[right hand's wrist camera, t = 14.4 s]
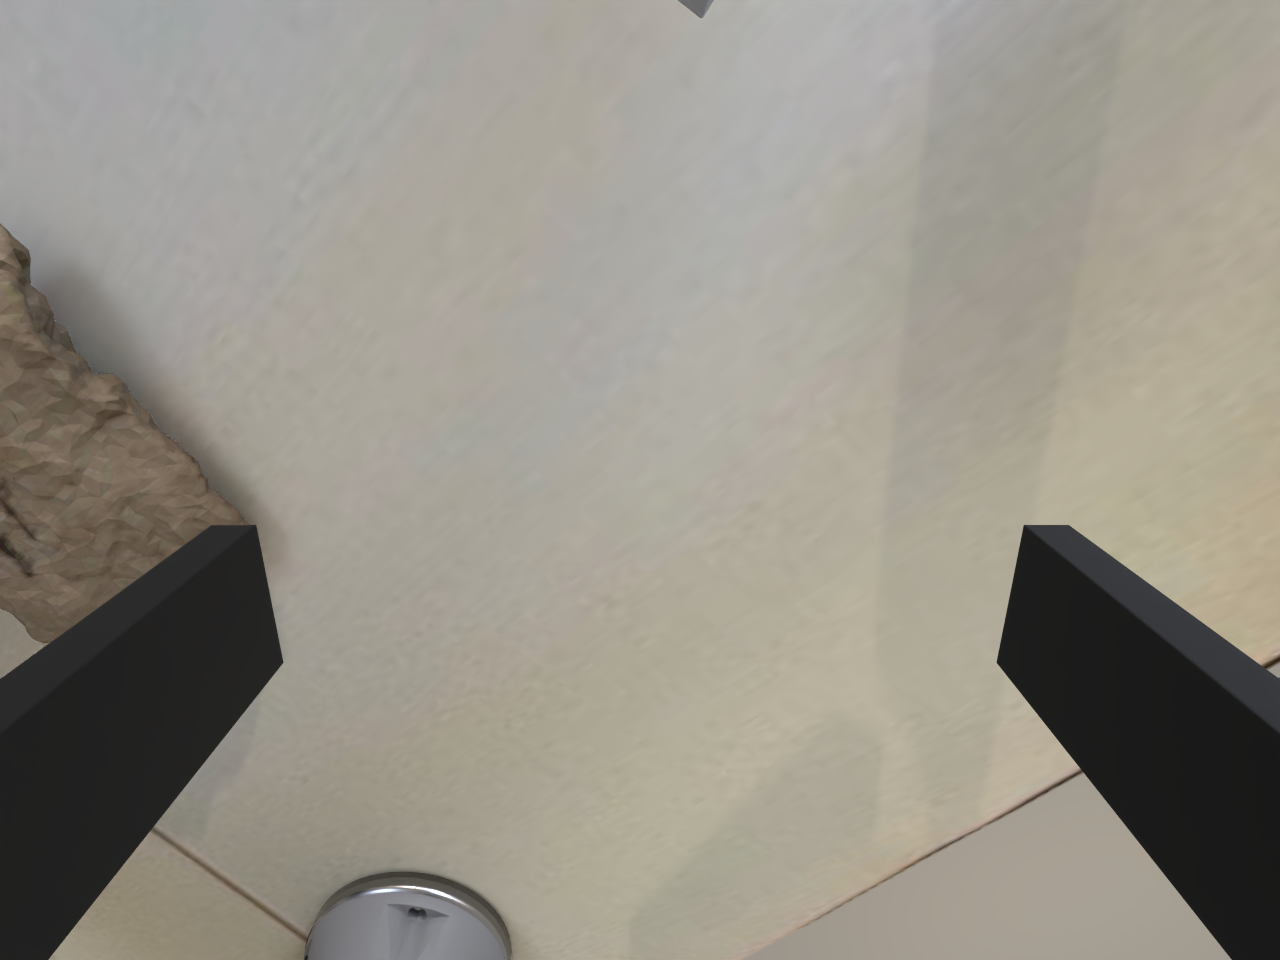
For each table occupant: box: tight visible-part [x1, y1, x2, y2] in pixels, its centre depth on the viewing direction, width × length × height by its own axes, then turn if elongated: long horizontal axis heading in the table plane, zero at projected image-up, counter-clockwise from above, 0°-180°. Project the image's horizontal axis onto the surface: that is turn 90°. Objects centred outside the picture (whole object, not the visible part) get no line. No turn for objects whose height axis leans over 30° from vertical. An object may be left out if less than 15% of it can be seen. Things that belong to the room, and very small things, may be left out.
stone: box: [0, 224, 249, 643], centre depth 40 cm, size 21×15×6 cm
